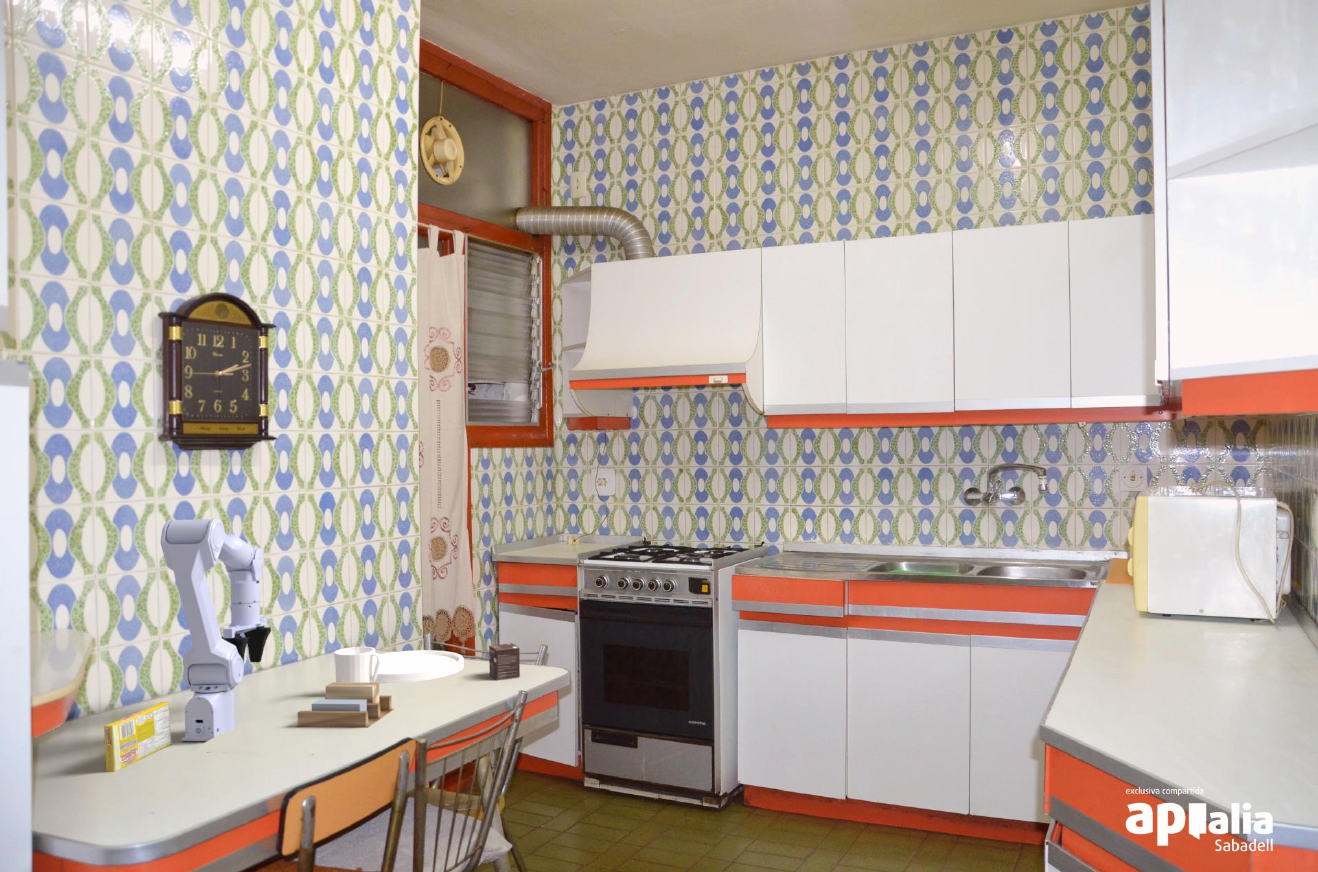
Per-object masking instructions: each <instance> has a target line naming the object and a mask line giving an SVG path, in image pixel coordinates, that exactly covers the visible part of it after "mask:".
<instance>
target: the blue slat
mask: <svg viewBox="0 0 1318 872" xmlns="http://www.w3.org/2000/svg"><path fill="white" fill-rule="evenodd" d="M311 711H367V700H342V699H325V698H324V699H323V698H321V699H317V700H315V701H313V702H312V703H311Z"/></svg>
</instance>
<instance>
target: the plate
mask: <svg viewBox="0 0 1318 872" xmlns="http://www.w3.org/2000/svg"><path fill="white" fill-rule="evenodd" d="M378 654H379V655H380V656H381V665H380V668H379V671H378V675H377V678H376V680H375V682H379V684H397V683H398V684H399V683H413V682H422V681H427V680H428V681H429V680H434V679H440V678H444V677H448V676H450V675H453V674H457V673H458V672H460V671H462V670H463V669H464V666H465V665H464V664H465V659H464V657H463V656H462V654H459V653H457V652H452V651H446V650H434V649H433V650H430V649H429V650H428V649H427V650H423V649H418V650H401V651H400V650H399V651H391V652H385V653H384V652H383V653H378ZM376 663H377V658H376V657H375V659H374V670H375V667H376Z"/></svg>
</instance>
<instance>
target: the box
mask: <svg viewBox="0 0 1318 872" xmlns="http://www.w3.org/2000/svg"><path fill="white" fill-rule="evenodd" d="M488 648H489V651H488V657H489V660H488V661H489V676H490V677H491V678H492V679H494V680H495V681H503V680H508V679H509V680H510V679H519V678H521V674H520V673H521V670H520V669H521V668H520V667H521V664H520V662H521V661H520V647H519V646H517V644H513V643H512V642H509V643H502V644H492V645H488Z"/></svg>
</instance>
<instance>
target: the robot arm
mask: <svg viewBox="0 0 1318 872" xmlns="http://www.w3.org/2000/svg"><path fill="white" fill-rule="evenodd" d="M225 531H226V530H225V526H224V522H223V521H221V519H220V518H217V517H214V518H211V519H209V518H207V519H206V518H205V519H204V518H203V519H198V518H197V519H168V520H167V521H166V522H165V524H164V525H163V527H162V530H161V535H160V547H161V549H162V553H163V558H164V560H165V564H166V567H167V568H168V569H170V570H171V571H173V575H174V578H175V582H176V586H177V589H178V594H179V597H180V600H181V604H182V608H183V612H184V615H185V616H184V617H185V620H186V622H187V627H188V630H189V633H190V637H191V641H192V646H191V647H190V648H188V650H186V652H185V654H184V657H183V659H182V665H183V680H184V683H186V685H187V687H188V688H190V692H194V694H193V696H192V697H191V698H190V699H189V700H188V702H187V703H186V705H185V708H184V727H185V728H184V729H185V731H184V733H185V734H184V735H185V736H184V737H181V739H180V741H181V742H208V741H210V740H212V739H214V738H216V737H218V736H220V735H222V734H224V733H226V732H227V733H228V732H230V731H232V730H234V729H236V727H237V725H236V718H235V717H236V716H235V715H236V714H235V713H236V712H235V710H236V709H235V687H237V686H238V685H239V684H240V683H241V681H242V680H243V676H244V673H245V653H246V648H247V650H248V658H249V661H250V663H261V662H262V658H263V655H264V649H265V646H266V643H267V639H268V637H269V636H270V635H271V632H272V627H269V626H268V617H267V616H261V601H260V599H261V598H260V597H261V595H260V594H261V593H260V592H261V591H260V587H261V586H260V580H262V577H263V567H264V563H265V562H264V559H265V557H264V552H263V550H262V548H260V547H258V546H257V545H249V544H248V543H247V542H246V541H245V540H243V539H241V538H240V537H239V536H238V534H237V533H236V532H229V533H228V534H227V533H226V532H225ZM218 560H220V561H221V562H223V565H224V567H225V569H226V572H227V574H230V576H229V577H230V619H231V620H230V621H231V622H230V623H229V625H228V626H227V627H225V628H223V629H222V631H223V632H222V633H223V636H222V634H221V630H220V627H219V626H220V625H219V622H218V618H217V615H216V614H217V613H216V610H215V606H214V604H213V603H214V602H213V599H212V595H211V591H210V587H209V583H208V580H207V576H206V572H207V571H208V570H210V569H212V568H214V567H216V564H217V561H218ZM242 634H243V635H244V636H242Z"/></svg>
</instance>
